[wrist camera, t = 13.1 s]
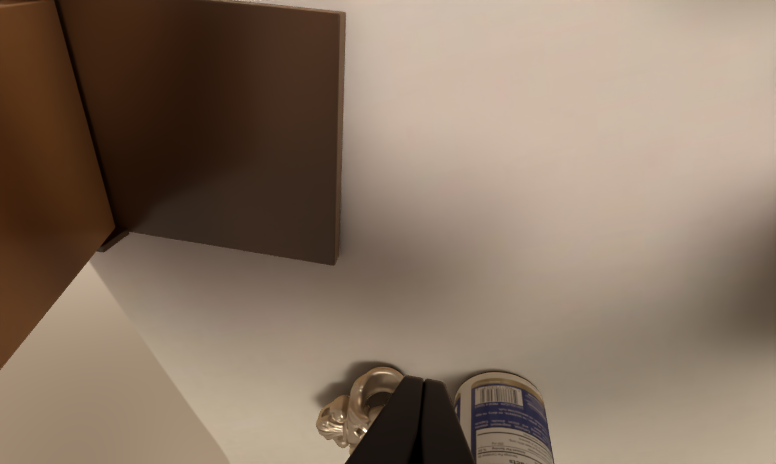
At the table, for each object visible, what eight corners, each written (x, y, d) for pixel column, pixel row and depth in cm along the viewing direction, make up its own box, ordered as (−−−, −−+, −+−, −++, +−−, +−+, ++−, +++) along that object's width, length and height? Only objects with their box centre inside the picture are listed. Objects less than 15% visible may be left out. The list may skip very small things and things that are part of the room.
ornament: (321, 353, 28) (302, 400, 25) (429, 367, 27) (423, 418, 24) (329, 433, 32) (313, 483, 29) (424, 448, 31) (418, 501, 28)
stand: (346, 9, 18) (295, 22, 13) (339, 257, 24) (303, 332, 19) (36, -23, 20) (-120, -22, 14) (104, 219, 26) (12, 279, 21)
